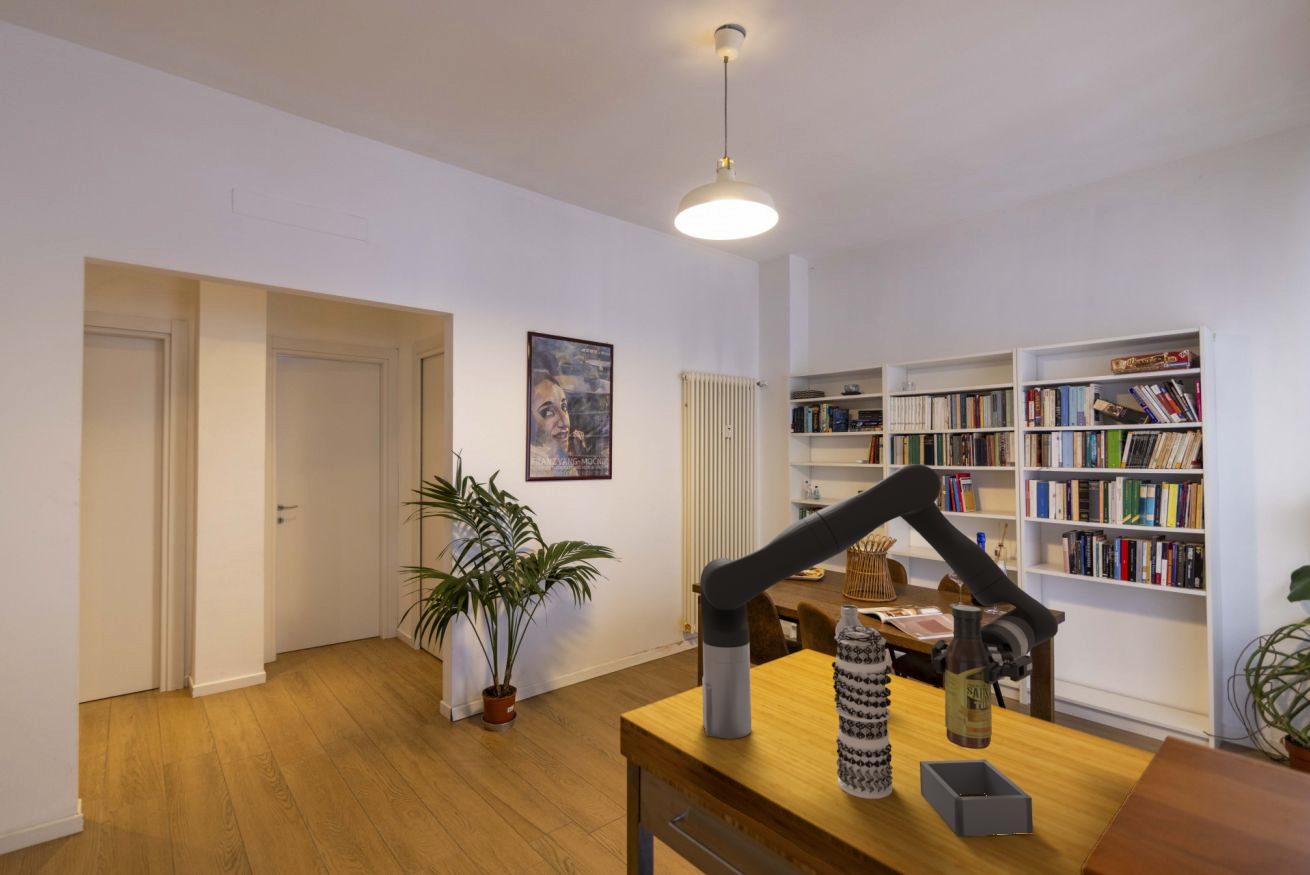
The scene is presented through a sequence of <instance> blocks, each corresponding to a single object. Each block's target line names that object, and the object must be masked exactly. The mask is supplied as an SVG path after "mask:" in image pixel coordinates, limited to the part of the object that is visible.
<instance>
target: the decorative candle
mask: <svg viewBox="0 0 1310 875" xmlns="http://www.w3.org/2000/svg"><path fill="white" fill-rule="evenodd" d="M834 640H836V650H837V651H836V655H835V661H833V662H832V663H831V667H832V668H833V676H832V679H833V683H834V684H833V685H832V687H833V689H834V692H835V694H834V696H835V697H834V700H833V701H834V702H835V703H836V704H835V705H836V706H835V711H836V713H837V714H838V724H839V725H838V727H837V730H838V732H837V735H838V736H837V739H836V740H835V741H836V744H837V749H836V753H837V756H838V757H837V760H836V765H837V771H836V773H837V776H838V781H837V784H838V786H839V788H840V789H841V790H843V791H844V792H846V793H847V794H848V795H851V796H854V797H857V798H861V799H867V800H879V799H883V798H886V797H889V795H891V794H892V793H893V776H892V774H893V771H892V770H893V766H892V765H891V762H892V759H893V758H892V755H893V754H891V751H892V748H893V747H892V744H891V743H890V738H889V737H890V736H889V735H890V734H889V730H888V719H890V717H891V716H890V715H891V713H890V712H891V711H890V710H889V708H887V707H889V706H891V704H892V701H891V700H890V698H888V697H890V696H891V695H892V691H891V689H890V688H889V687H887V685H889V684H891V683H892V678H891V677H890V676H889V674H891V673H892V668H891V666H889V665H887V658H886V647H885V645H886V643H887V639H886V638H885V637H883V636H882V635H881V633H880V632H879V631H878V630H876V629H875V628H873V627H869V626H865V625H862V626H848V627H845V628H843V629H842V630H841V631H840V633H839V634H838V635H836V634H835V636H834ZM838 676H839V679H838ZM838 686H839V687H838ZM837 687H838V688H837Z"/></svg>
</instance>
